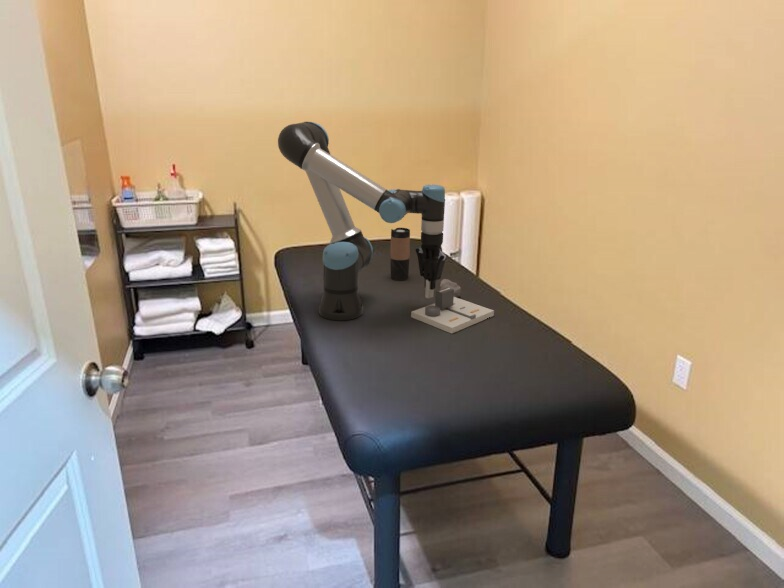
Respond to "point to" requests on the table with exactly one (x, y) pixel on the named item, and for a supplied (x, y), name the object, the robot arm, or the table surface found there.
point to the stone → (451, 286)
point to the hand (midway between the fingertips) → (429, 297)
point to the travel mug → (400, 253)
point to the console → (453, 315)
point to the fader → (444, 298)
